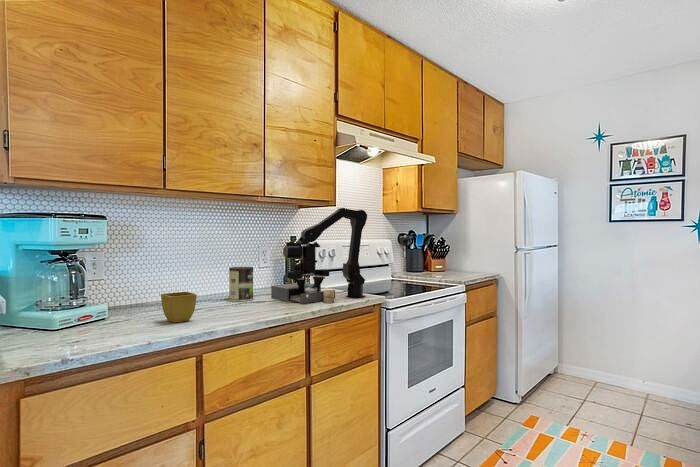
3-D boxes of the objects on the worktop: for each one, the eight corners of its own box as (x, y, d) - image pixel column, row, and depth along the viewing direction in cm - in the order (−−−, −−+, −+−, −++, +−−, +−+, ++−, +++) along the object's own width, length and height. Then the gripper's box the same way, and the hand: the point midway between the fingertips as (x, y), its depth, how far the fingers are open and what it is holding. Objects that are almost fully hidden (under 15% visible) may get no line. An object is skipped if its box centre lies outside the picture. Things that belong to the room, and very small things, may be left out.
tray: (317, 295, 183) (317, 287, 183) (335, 298, 173) (335, 290, 173) (284, 299, 171) (284, 290, 171) (301, 303, 161) (301, 294, 161)
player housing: (304, 293, 190) (304, 282, 190) (322, 297, 180) (322, 285, 180) (271, 298, 178) (271, 285, 178) (288, 302, 168) (288, 289, 168)
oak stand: (329, 301, 170) (329, 289, 170) (336, 302, 167) (336, 291, 167) (321, 302, 167) (321, 290, 167) (328, 303, 164) (328, 292, 164)
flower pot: (186, 317, 138) (186, 291, 138) (197, 320, 132) (197, 293, 132) (160, 320, 132) (160, 293, 132) (170, 325, 126) (170, 296, 126)
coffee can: (256, 297, 179) (256, 266, 179) (249, 301, 169) (249, 268, 169) (233, 297, 179) (233, 266, 179) (225, 301, 169) (225, 268, 169)
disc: (310, 286, 177) (311, 282, 177) (319, 292, 172) (320, 289, 172) (298, 287, 173) (298, 283, 172) (306, 294, 168) (307, 290, 168)
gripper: (315, 256, 185) (314, 289, 185) (280, 257, 172) (280, 294, 172) (330, 257, 177) (330, 292, 177) (294, 259, 164) (294, 297, 164)
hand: (308, 293), depth 173 cm, fingers closed on disc, 7 cm apart
